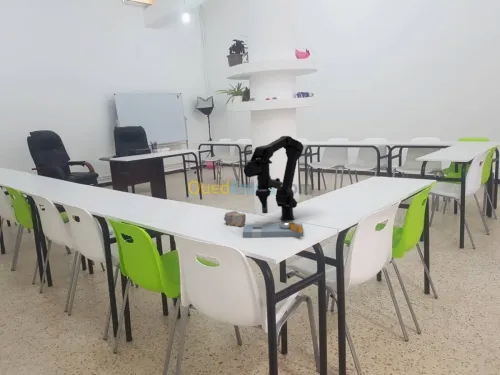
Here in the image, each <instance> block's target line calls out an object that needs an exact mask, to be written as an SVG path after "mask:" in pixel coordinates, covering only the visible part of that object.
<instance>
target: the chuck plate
mask: <svg viewBox="0 0 500 375" xmlns="http://www.w3.org/2000/svg"><path fill="white" fill-rule="evenodd" d="M294 223H295V224H298V225H300V226H303V222H302V223H301V222H300V223H298V222H297V223H296V222H294ZM243 227H244V228H243V230H242V238H249V239H250V238H297V237H298V238H300V237H301V238H302V237H304V231H303V232H302V233H298V232H295V231H293V230H291V229H283V228H280V227H279V223H252V224H251V223H249V224H247V223H246V224H244V226H243Z"/></svg>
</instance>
